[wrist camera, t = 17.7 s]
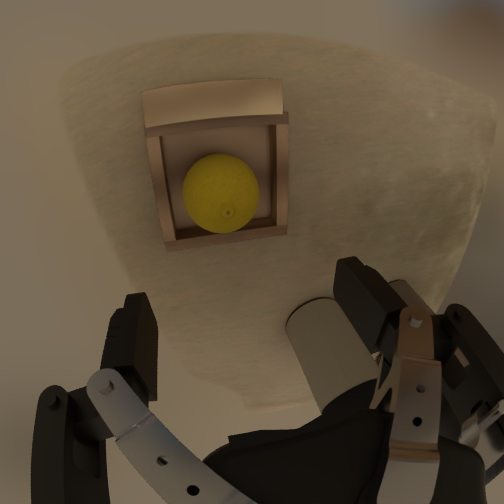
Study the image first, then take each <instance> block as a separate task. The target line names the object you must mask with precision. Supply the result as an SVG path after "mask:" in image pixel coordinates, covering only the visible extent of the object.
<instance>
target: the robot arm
mask: <svg viewBox="0 0 504 504" xmlns="http://www.w3.org/2000/svg"><path fill="white" fill-rule="evenodd" d="M333 293H334V297H335V300H336V301H337V303H338V304H339V306H340V308H341V309H342V311H343V312H344V314H345V315H346V317H347V318H348V320H349V321H350V323H351V324H352V326H353V327H354V329H355V330H356V332H357V334H358V335H359V337H360V338H361V340H362V341H363V343H364V344H365V346H366V348H367V349H368V351H369V352H370V354H373V353H376V352H379V351H380V352H381V353H382V357H381V360H380V367H379V372H378V378H377V383H376V389H375V393H374V397H373V400H372V402H371V404H370V407H369V409H368V408H362V409H358V408H357V406H356V404H355V402H353V403H350V404H348V405H345V406H342V407H340V408H337V409H334V410H331V411H328V412H326V413H324V414H322V415H321V416H319V417H317V418H316V419H314V420H312V421H311V422H309V423H307V424H305V425H304V426H302V427H300V428H298V429H290V430H258V431H253V432H248V433H243V434H237V435H231V436H228V439H229V443H228V444H226V445H223V446H221V447H220V448H218V449H216V450H215V451H213V452H212V453H210V454H209V455H208V456H207V457H206V458H205V459H204V460H203V461H201V460H200V459H199V458H197V457H196V456H195V455H194V454H193V453H192V452H191V451H190V450H189V449H188V448H187V447H185V446H184V445H183V444H182V443H181V442H180V441H179V440H178V439H177V438H176V437H175V436H174V435H173V434H172V433H171V432H170V431H169V430H168V429H167V428H166V427H165V426H164V425H163V424H162V423H161V421H159V419H158V418H157V417H156V416H155V415H154V414H152V412H151V411H150V410H149V409H148V401H157V357H158V326H157V321H156V318H155V316H154V313H153V311H152V308H151V305H150V303H149V300H148V297H147V295H146V293H145V292H141V293H135V294H128V295H127V296H126V299H125V303H124V308H119V309H117V310H116V311H115V313H114V314H113V315H112V317H111V318H110V322H109V327H108V332H107V336H106V337H107V339H106V340H105V346H104V350H103V355H102V360H101V366H100V370H99V371H97V372H95V373H94V374H93V375H92V376H91V377H90V379H89V381H88V383H87V386H85V387H83V388H79V389H76V390H74V391H71V392H66V390H64V389H63V388H62V387H61V386H57V385H53V386H50V387H47V388H46V389H45V390H44V391H43V392H42V393H41V395H40V397H39V400H38V406H37V412H36V418H35V425H34V433H33V443H32V457H31V504H110V497H109V488H108V477H107V463H106V439H107V438H111V437H114V436H115V438H116V444H117V446H118V447H119V449H120V450H121V451H122V453H123V454H124V455H125V456H126V458H127V459H128V460H129V461H130V463H131V464H132V465H133V466H134V468H135V469H136V470H137V471H138V472H139V474H140V475H141V476H142V477H143V478H144V479H145V480H146V482H147V483H149V485H150V486H151V487H152V488H153V489H154V490H155V491H156V492H157V493H158V494H159V495H160V496H161V497H162V498H163V500H165V501H166V502H167V503H168V504H487V501H486V492H485V485H487V484H488V483H489V482H490V481H491V480H493V479H494V478H495V477H496V476H497V475H498V474H500V472H502V471H503V470H504V354H503V352H502V350H501V349H500V348H499V346H498V345H497V344H496V343H495V341H494V340H493V339H492V337H491V336H490V335H489V334H488V332H487V331H486V330H485V329H484V327H483V326H482V325H481V324H480V323H479V322H478V320H477V319H476V318H475V317H474V315H473V314H472V313H471V312H470V311H469V310H468V309H467V308H466V307H464V306H462V305H460V304H451V305H449V306H448V307H447V309H446V311H445V313H444V314H441V315H436V314H435V313H434V312H433V311H432V309H431V308H430V307H429V306H428V305H427V304H426V303H425V302H424V300H423V299H422V298H421V297H420V296H419V295H418V294H417V293H416V292H415V291H414V290H413V288H412V287H411V286H410V285H409V284H408V283H407V282H405V281H402V280H399V281H394V282H392V283H388V282H387V281H386V280H384V278H383V277H382V276H381V275H380V274H379V273H378V272H377V271H376V270H375V269H373V268H371V267H369V266H368V265H365V266H364V264H363V263H362V262H361V261H360V260H359V259H358V258H357V257H356V256H352V257H347V258H342V259H339V260H338V261H337V265H336V272H335V279H334V285H333Z"/></svg>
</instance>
